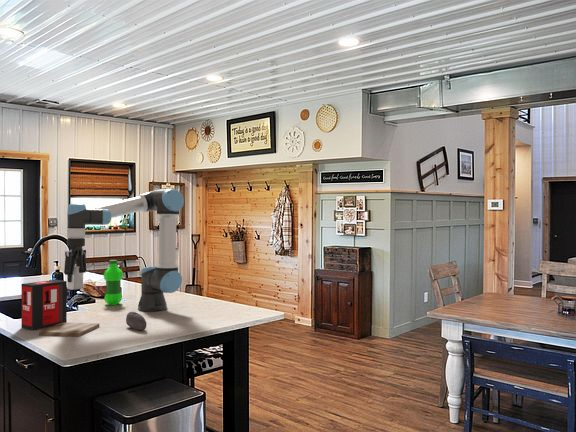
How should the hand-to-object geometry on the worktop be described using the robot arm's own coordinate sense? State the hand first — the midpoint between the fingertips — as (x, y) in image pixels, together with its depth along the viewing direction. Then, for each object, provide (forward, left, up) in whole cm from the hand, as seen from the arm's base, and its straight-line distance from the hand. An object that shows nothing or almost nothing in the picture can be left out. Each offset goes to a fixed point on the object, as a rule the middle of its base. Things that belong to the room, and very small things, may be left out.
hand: (75, 288), depth 229 cm
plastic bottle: (+9, -56, -18) cm, 60 cm away
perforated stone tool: (-29, 0, -18) cm, 35 cm away
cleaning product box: (+16, -1, -18) cm, 24 cm away
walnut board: (-1, +7, -18) cm, 19 cm away
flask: (0, 0, -1) cm, 1 cm away
